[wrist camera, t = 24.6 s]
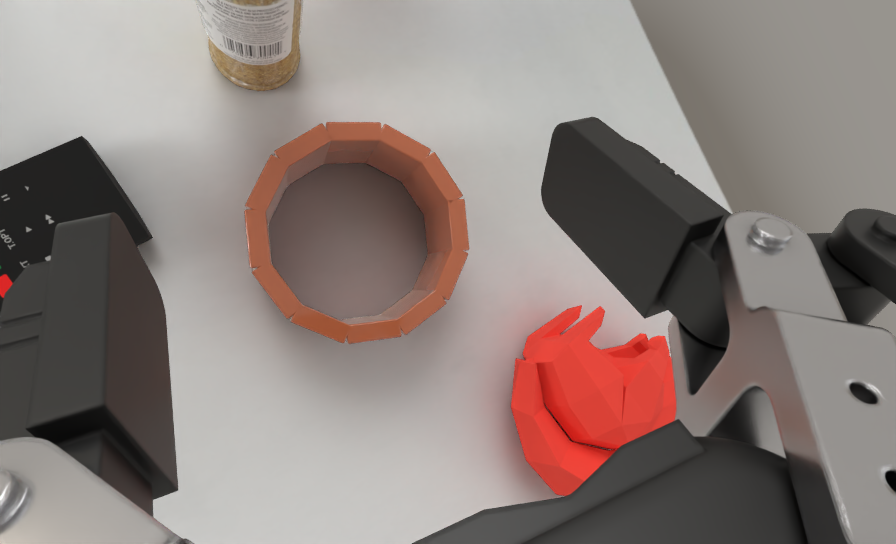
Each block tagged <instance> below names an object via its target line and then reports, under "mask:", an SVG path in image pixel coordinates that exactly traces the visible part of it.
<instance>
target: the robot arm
mask: <svg viewBox="0 0 896 544" xmlns="http://www.w3.org/2000/svg"><path fill="white" fill-rule="evenodd" d="M674 172H675V171H674V170H672V169H671V168H670V167H668V166H667V165H666V164H664V163H660V160H659V159H658V158H656V157H655V156H654V155H652V154H651V153H650V152H648V151H647V150H646V149H644V148H643V147H642V146H640V145H637V144H635V143H633V142H630V141H628V140H626V139H624V138H623V137H622V136H620V135H619V134H618V133H617V132H615V131H614V130H613V129H611V128H610V127H609V126H607V125H606V124H605V123H603V122H602V121H601V120H599V119H598V118H595V117H589V118H584V119H579V120H574V121H570V122H565V123H560V124H559V125H557V127H556V128H555V129H554V132H553V134H552V139H551V143H550V148H549V153H548V158H547V163H546V167H545V172H544V177H543V182H542V187H541V196H542V201H543V205H544V207H545V209H546V211H547V213H548V214H549V216H550V217H551V218H552V219H553V220H554V221H555V222H556V223H557V224H558V225H559V226H560V227H561V229H562V230H563V231H564V232H565V233H566V234H567V235H568V236H569V237H570V238H571V239H572V240H573V242H574V243H575V244H576V245H577V246H578V247H579V248H580V249H581V250H582V251H583V252H584V253H585V255H586V256H587V257H588V258H589V259H590V260H591V261H592V262H593V263H594V264H595V265H596V266H597V268H598V269H599V270H600V271H601V272H602V273H603V274H604V275H605V276H606V277H607V278H608V279H609V281H610V282H611V283H612V284H613V285H614V286H615V287H616V288H617V289H618V290H619V291H620V292H621V294H622V295H623V296H624V297H625V298H626V299H627V300H628V301H629V302H630V303H631V304H632V305H633V306H634V308H635V309H636V310H637V311H638V312H639V313H640V314H641V315H642V316H643V317H644V318H647V317H650V316H653V315H655V314H658V313H661V312H663V311H666V310H669V311H670V312H671V313H672V314H673V317H672V318H671V320H670V322H669V325H668V333H669V342H670V351H671V360H672V369H673V378H674V388H675V397H676V414H675V419H674V421H673V422H671V423H668V424H666V425H664V426H662V427H660V428H658V429H656V430H654V431H651V432H649V433H647V434H645V435H643V436H641V437H639V438H636V439H634V440H632V441H630V442H628V443H626V444H624V445H622V446H621V447H619V448H618V449H617V450H616V451H615V452H614V453H613V454H612V455H611V456H610V457H609V458H608V459H607V460H606V461H605V462H604V463H603V464H602V465H601V466H600V467H599V468H598V469H597V470H596V471H595V472H594V473H593V474H591V475H590V476H589V477H588V478H587V479H586V480H585V481H584V482H583V483H582V484H581V485H580V486H579V487H578V488H577V489H576V490H575V491H574V492H572V493H571V494H569V495H567V496H565V497H561V498H556V499H549V500H543V501H537V502H530V503H524V504H517V505H511V506H505V507H498V508H492V509H486V510H483V511H480V512H478V513H476V514H474V515H472V516H470V517H468V518H465V519H463V520H461V521H459V522H457V523H455V524H453V525H450V526H448V527H446V528H444V529H442V530H440V531H438V532H436V533H433V534H431V535H429V536H427V537H425V538H423V539H421V540H418V541H416V542H414V543H412V544H896V337H895V336H894V335H893V334H892V333H891V332H889V331H888V330H886V329H884V328H880V327H875V326H870V325H867V324H868V323H869V322H870V321H871V320H872V319H873V318H874V317H875V316H876V315H877V314H878V313H879V312H880V311H881V310H882V309H883V308H884V307H885V306H886V305H887V304H888V303H889V302H890V301H892V302H893V303H895V304H896V215H894V214H891V213H888V212H884V211H880V210H874V209H856V210H852V211H850V212H848V213H847V214H846V215H845V217H844V218H843V219H842V221H841V222H840V223H839V224H838V226H837V227H836V228H835V230H834V231H833V232H832V233H819V234H818V233H817V234H815V233H814V234H806V233H805V232H804V231H803V230H802V229H800V228H799V227H797V226H796V225H794V224H793V223H791V222H789V221H787V220H785V219H783V218H781V217H778V216H776V215H773V214H770V213H765V212H761V211H751V210H750V211H748V210H746V211H739V212H736V213H733V214H731V213H729V212H728V211H727V210H725V209H724V208H723V207H721V206H720V205H719V204H717V203H716V202H715V201H713V200H712V199H711V198H709V197H708V196H707V195H705V194H704V193H703V192H701V191H700V190H699V189H697V188H696V187H695V186H693V185H692V184H691V183H690V182H688V181H687V180H686V179H684V178H683V177H682V176H680V175H679V174H677V175H675V173H674ZM175 491H178V479H177V465H176V451H175V437H174V423H173V409H172V395H171V381H170V367H169V353H168V340H167V326H166V314H165V308H164V304H163V300H162V297H161V294H160V291H159V289H158V286H157V284H156V282H155V280H154V278H153V276H152V274H151V272H150V271H149V269H148V267H147V265H146V263H145V261H144V259H143V258H142V256H141V254H140V252H139V250H138V248H137V246H136V245H135V243H134V241H133V239H132V237H131V235H130V234H129V232H128V230H127V228H126V226H125V224H124V223H123V221H122V220H121V218H120V217H119V216H118V215H117V214H116V213H108V214H103V215H98V216H93V217H88V218H83V219H78V220H73V221H68V222H64V223H59V224H57V226H56V228H55V233H54V239H53V246H52V253H51V259H50V260H49V261H45V262H40V263H36V264H31V265H27V266H26V268H25V269H24V270H23V271H22V273H21V274H20V275H19V276H18V278H17V279H16V280H15V282H14V283H13V284H12V285H11V287H10V288H9V289H8V290H7V292H6V293H5V295H4V299H3V304H2V308H1V313H0V544H194V543H192V542H191V541H189V540H187V539H182V538H181V537H179V536H178V535H176V534H175V533H173V532H172V531H171V530H169V529H168V528H167V527H165V526H164V525H163V524H161V523H160V522H158V521H157V520H156V519H154V518H153V500H154V499H156V498H159V497H162V496H165V495H167V494H170V493H173V492H175Z"/></svg>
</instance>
